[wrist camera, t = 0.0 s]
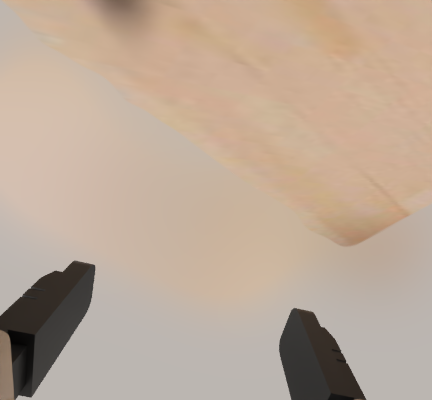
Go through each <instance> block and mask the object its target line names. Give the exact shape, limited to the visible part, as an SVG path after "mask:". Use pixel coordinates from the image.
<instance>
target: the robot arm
mask: <svg viewBox="0 0 432 400" xmlns="http://www.w3.org/2000/svg"><path fill="white" fill-rule="evenodd" d="M94 275H95V265H93V264H88V263H83V262H78V261H73V262H72V263H71V264H70V265H69V266H68V267H67V268H66V269H65V270H64V271H63V272H59V271H54V272H52V273H50V274H47V275H45V276H43V277H42V278H40V279H39V280H38V281H37V282H36V283H35V284H34V285H33V286H32V287H31V289H28V290H27V291H26V292H25V294H23V296H22V297H20V298H19V299H18V300H17V301H16V302H15V303H14V304H13V305H11V306H10V307H9V308H8V310H6V311H5V312H4V313H3V314H2V315H1V316H0V400H15V399H16V398H17V397H18V395H21V396H26V397H32V396H33V394H34V393H35V391H36V389H37V388H38V386H39V385H40V383H41V382H42V380H43V379H44V377H45V376H46V374H47V373H48V371H49V370H50V368H51V367H52V365H53V364H54V362H55V360H56V359H57V357H58V356H59V354H60V353H61V351H62V350H63V348H64V347H65V345H66V343H67V342H68V341H69V339H70V337H71V336H72V334H73V333H74V331H75V329H76V328H77V327H78V325H79V324H80V322H81V321H82V319H83V317H84V316H85V314H86V312H87V310H88V308H89V305H90V302H91V298H92V291H93V283H94ZM279 352H280V357H281V361H282V365H283V368H284V372H285V376H286V380H287V384H288V388H289V392H290V396H291V400H366V398H365V396H364V394H363V392H362V391H361V389H360V387H359V385H358V383H357V381H356V379H355V377H354V375H353V373H352V371H351V369H350V367H349V366H348V364H347V363H346V360H345V358H344V356H343V354H342V353H341V350H340V348H339V346H338V344H337V342H336V340H335V339H334V338H333V337H332V335H331V334H330V333H329V332H328V331H327V330H326V329H325V328H323V327H321V326H320V324H319V322H318V320H317V318H316V316H315V314H314V313H313V312H310V311H306V310H301V309H296V308H294V309H293V310H292V311H291V313H290V315H289V318H288V320H287V323H286V326H285V328H284V331H283V333H282V336H281V339H280V345H279Z"/></svg>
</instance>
